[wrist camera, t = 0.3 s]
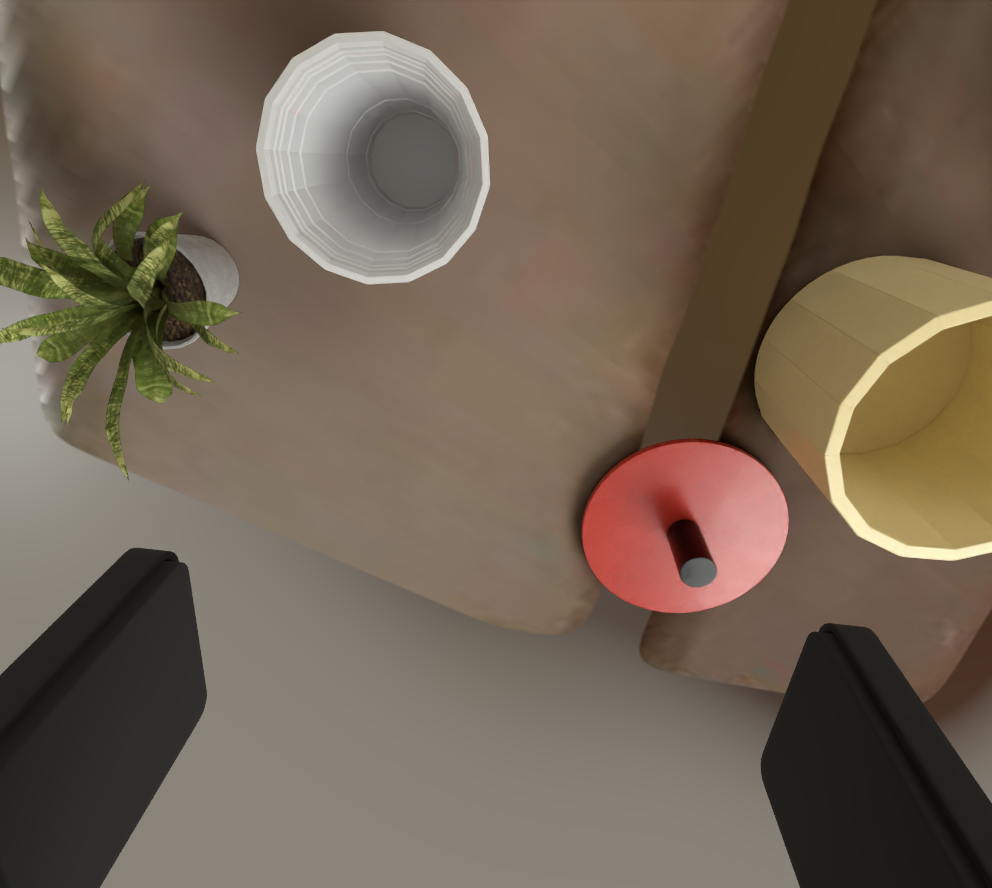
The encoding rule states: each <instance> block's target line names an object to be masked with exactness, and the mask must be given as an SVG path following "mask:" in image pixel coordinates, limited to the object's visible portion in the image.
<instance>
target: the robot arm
mask: <svg viewBox="0 0 992 888" xmlns="http://www.w3.org/2000/svg"><path fill="white" fill-rule="evenodd" d="M206 698H207V690H206V684H205V677H204V671H203V664H202V657H201V650H200V644H199V637H198V630H197V623H196V617H195V610H194V604H193V597H192V590H191V583H190V576H189V570H188V567H187V565H186V564H185V563H181V562H179V560H178V557H177V556H176V554H175V553H173V552H171V551H162V550H152V549H144V548H132V549H130V550H128V551H127V552H125V553H124V554H123V555H122V556H121V557H120V558H119V559H118V560H117V561H116V562H115V563H114V564H113V565H112V566H111V567H110V568H109V569H108V570H107V571H106V572H105V573H104V574H103V575H102V576H101V577H100V578H99V579H98V580H97V581H96V582H95V583H94V584H93V585H92V586H91V587H90V588H89V589H88V590H87V591H86V592H85V593H84V594H83V595H82V596H81V597H80V598H78V600H76V601H75V603H73V604H72V605H71V606H70V607H69V608H68V609H67V610H66V611H65V612H64V613H63V614H62V615H61V616H60V617H59V618H58V619H57V620H56V621H55V622H54V623H53V624H52V625H51V626H50V627H49V628H48V629H47V630H46V631H45V632H44V633H43V634H42V635H41V636H40V637H39V638H38V639H37V640H36V641H35V642H34V643H33V644H32V645H31V646H30V647H29V648H28V649H26V651H25V652H23V653H22V654H21V655H20V656H19V657H18V658H17V659H16V660H15V661H14V662H13V663H12V664H11V665H10V666H9V667H8V668H7V669H6V670H5V671H4V672H3V673H2V674H1V675H0V888H100V886H101V885H102V883H103V881H104V879H105V878H106V876H107V874H108V873H109V871H110V869H111V868H112V866H113V864H114V863H115V861H116V859H117V857H118V856H119V854H120V853H121V851H122V849H123V847H124V846H125V844H126V842H127V841H128V839H129V837H130V835H131V834H132V832H133V831H134V829H135V827H136V825H137V824H138V822H139V820H140V819H141V817H142V815H143V813H144V812H145V810H146V809H147V807H148V805H149V804H150V802H151V800H152V799H153V797H154V795H155V794H156V792H157V790H158V788H159V787H160V785H161V783H162V782H163V780H164V778H165V777H166V775H167V773H168V772H169V770H170V768H171V766H172V765H173V763H174V761H175V760H176V758H177V756H178V755H179V753H180V751H181V750H182V748H183V746H184V745H185V743H186V741H187V739H188V738H189V736H190V735H191V733H192V731H193V729H194V728H195V726H196V724H197V722H198V721H199V719H200V717H201V715H202V713H203V711H204V708H205V703H206ZM761 774H762V780H763V783H764V786H765V789H766V792H767V795H768V798H769V800H770V803H771V806H772V809H773V812H774V815H775V818H776V820H777V823H778V826H779V829H780V832H781V834H782V837H783V840H784V843H785V846H786V849H787V852H788V854H789V857H790V860H791V863H792V866H793V869H794V871H795V875H796V877H797V880H798V883H799V886H800V888H992V803H991V802H990V800H989V799H988V798H987V796H986V795H985V793H984V792H983V790H982V789H981V787H980V786H979V784H978V783H977V781H976V780H975V779H974V777H973V776H972V774H971V773H970V771H969V770H968V768H967V767H966V765H965V764H964V763H963V761H962V760H961V758H960V757H959V755H958V754H957V752H956V751H955V749H954V748H953V746H952V745H951V744H950V742H949V741H948V739H947V738H946V736H945V735H944V734H943V732H942V731H941V729H940V728H939V726H938V725H937V723H936V722H935V720H934V719H933V717H932V716H931V714H929V712H928V710H927V709H926V708H925V706H924V704H923V703H922V701H921V700H920V698H919V697H918V696H917V694H916V693H915V691H914V690H913V688H912V687H911V685H910V684H909V682H908V681H907V680H906V678H905V677H904V675H903V674H902V672H901V671H900V669H899V668H898V666H897V665H896V664H895V662H894V661H893V659H892V658H891V656H890V655H889V653H888V652H887V650H886V649H885V648H884V646H883V645H882V643H881V642H880V640H879V639H878V637H877V636H876V635H875V633H874V632H873V631H872V630H871V629H869V628H866V627H859V626H850V625H841V624H832V623H828V624H824V625H823V626H822V627H821V628H820V630H819V632H811V633H810V634H809V635H808V637H807V639H806V642H805V644H804V647H803V649H802V652H801V655H800V657H799V660H798V663H797V665H796V668H795V670H794V673H793V676H792V678H791V681H790V683H789V686H788V689H787V691H786V694H785V696H784V699H783V702H782V704H781V707H780V709H779V712H778V715H777V717H776V720H775V722H774V725H773V728H772V730H771V733H770V736H769V738H768V741H767V744H766V746H765V749H764V751H763V754H762V758H761Z"/></svg>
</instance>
